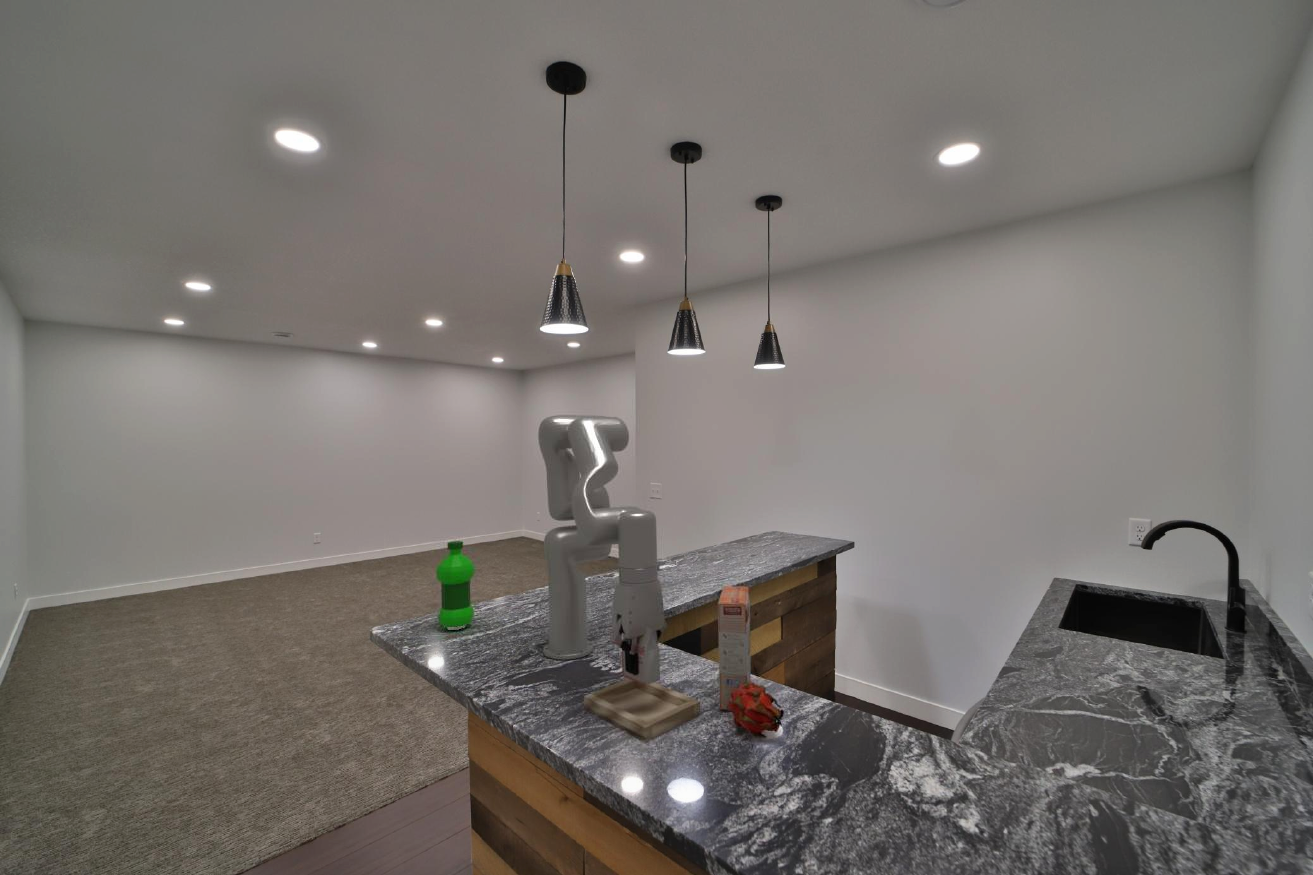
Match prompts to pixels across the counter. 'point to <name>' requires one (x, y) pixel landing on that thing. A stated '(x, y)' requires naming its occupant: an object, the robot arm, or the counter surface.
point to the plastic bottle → (455, 587)
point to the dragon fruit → (754, 709)
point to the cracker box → (733, 641)
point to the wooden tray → (642, 708)
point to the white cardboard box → (645, 660)
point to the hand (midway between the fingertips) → (640, 668)
